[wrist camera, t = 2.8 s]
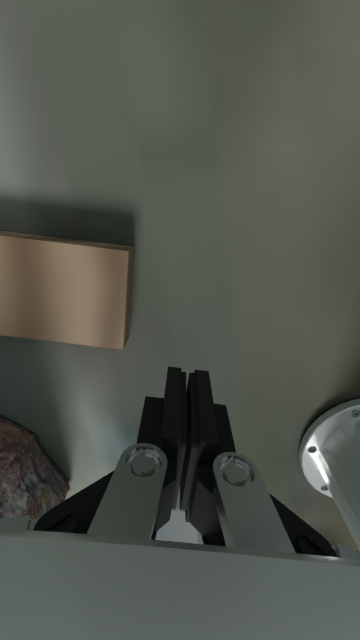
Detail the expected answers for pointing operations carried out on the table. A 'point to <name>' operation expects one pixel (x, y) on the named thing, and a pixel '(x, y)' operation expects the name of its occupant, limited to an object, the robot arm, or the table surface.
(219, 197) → the table surface
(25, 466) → the stone
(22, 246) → the panel
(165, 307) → the table surface
